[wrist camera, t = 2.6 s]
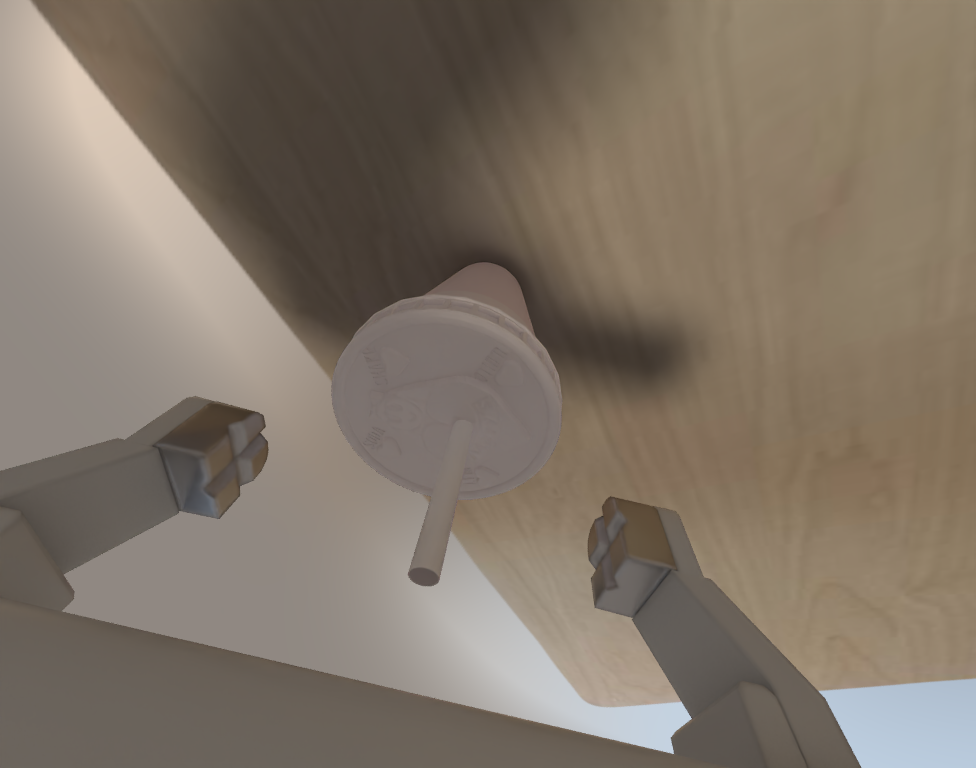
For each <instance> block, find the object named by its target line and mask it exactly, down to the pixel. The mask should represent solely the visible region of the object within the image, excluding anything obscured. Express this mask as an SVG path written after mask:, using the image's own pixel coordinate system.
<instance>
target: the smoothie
mask: <svg viewBox="0 0 976 768" xmlns="http://www.w3.org/2000/svg"><path fill="white" fill-rule="evenodd" d="M332 404H333V409H334V413H335V416H336V419H337V422H338V424H339V427H340V429H341V431H342V433H343V435H344V436H345V438H346V440H347V441H348V443H349V444H350V445H351V447H352V448H353V449H354V451H355V452H356V453H357V454H358V455H359V456H360V457H361V458H362V459H363V460H364V462H366V463H367V464H368V465H369V466H370V467H371V468H373V469H374V470H375V471H376V472H378V473H379V474H380V475H382V476H384V477H385V478H387V479H389V480H390V481H392V482H394V483H396V484H397V485H399V486H402V487H404V488H406V489H409V490H411V491H413V492H417V493H420V494H424V495H427V496H431V500H430V503H429V506H428V510H427V513H426V516H425V520H424V523H423V526H422V529H421V533H420V536H419V539H418V543H417V546H416V549H415V552H414V556H413V560H412V562H411V566H410V569H409V572H408V576H409V578H410V580H412V581H413V582H414V583H416V584H418V585H421V586H434V585H436V584H437V583H438V582H439V579H440V575H441V570H442V566H443V561H444V557H445V553H446V548H447V543H448V539H449V535H450V531H451V526H452V522H453V517H454V513H455V508H456V504H457V500H473V499H480V498H486V497H491V496H495V495H499V494H502V493H504V492H507V491H509V490H512V489H514V488H516V487H518V486H520V485H521V484H523V483H525V482H526V481H527V480H529V479H530V478H532V477H533V476H534V475H535V474H536V473H537V472H538V471H539V470H540V469H541V468H542V467H543V466H544V465H545V464H546V462H547V461H548V460H549V458H550V456H551V455H552V453H553V451H554V449H555V447H556V444H557V442H558V438H559V435H560V430H561V421H562V413H561V406H562V394H561V387H560V380H559V375H558V372H557V370H556V368H555V366H554V364H553V362H552V360H551V358H550V356H549V354H548V352H547V349H546V348H545V347H544V346H543V345H542V344H541V343H540V341H539V340H538V339H537V338H536V337H535V334H534V330H533V327H532V324H531V320H530V317H529V314H528V310H527V307H526V304H525V300H524V297H523V294H522V290H521V287H520V285H519V283H518V281H517V280H516V278H515V277H514V276H513V275H512V274H511V273H510V272H509V271H508V270H506V269H505V268H503V267H501V266H499V265H496V264H493V263H487V262H480V263H474V264H471V265H468V266H466V267H465V268H463V269H461V270H460V271H459V272H457V273H456V274H454V275H453V276H451V277H450V278H448V279H447V280H445V281H444V282H442V283H441V284H440V285H438V286H437V287H435V288H434V289H432V290H431V291H429V292H428V293H426V294H425V295H423V296H419V297H414V298H408V299H403V300H400V301H398V302H396V303H394V304H392V305H390V306H388V307H386V308H384V309H382V310H380V311H378V312H376V313H375V314H374V315H373V316H372V317H371V318H370V319H369V320H368V321H367V322H366V323H365V324H364V325H363V326H362V327H361V328H360V329H359V330H358V331H357V332H356V333H355V335H354V337H353V339H352V340H351V341H350V342H349V344H348V345H347V346H346V348H345V349H344V350H343V352H342V354H341V356H340V357H339V359H338V362H337V364H336V367H335V370H334V374H333V379H332Z"/></svg>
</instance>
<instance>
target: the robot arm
mask: <svg viewBox="0 0 976 768" xmlns="http://www.w3.org/2000/svg"><path fill="white" fill-rule="evenodd" d="M264 428H265V420H264V416H263V415H262V414H260V413H258V412H255V411H251V410H247V409H243V408H240V407H236V406H232V405H228V404H225V403H221V402H215V401H211V400H207V399H204V398H200V397H196V396H194V397H189V398H186V399H185V400H183V401H181V402H180V403H178V404H177V405H176V406H174V407H173V408H171V409H170V410H168V411H167V412H165V413H164V414H162V415H161V416H159V417H158V418H156V419H155V420H153V421H152V422H150V423H149V424H147V425H146V426H145V427H143V428H142V429H140V430H139V431H137V432H136V433H134V434H133V435H131V436H130V437H128V438H127V439H125V440H123V439H118V438H117V439H113V440H109V441H106V442H103V443H99V444H95V445H91V446H88V447H84V448H81V449H77V450H74V451H70V452H66V453H63V454H59V455H56V456H52V457H49V458H45V459H42V460H38V461H34V462H31V463H28V464H24V465H20V466H16V467H13V468H9V469H6V470H3V471H0V768H861V766H860V764H859V762H858V760H857V759H856V757H855V755H854V753H853V751H852V749H851V747H850V745H849V743H848V742H847V739H846V738H845V736H844V734H843V732H842V730H841V728H840V726H839V724H838V722H837V721H836V718H835V717H834V715H833V713H832V711H831V709H830V708H829V705H828V703H827V701H826V699H825V698H824V697H823V696H822V695H821V694H820V693H819V692H818V691H817V690H816V689H815V687H814V686H813V685H812V684H811V683H810V682H809V681H808V680H807V679H806V678H805V677H804V676H803V675H802V674H801V673H800V672H799V671H798V670H797V669H796V668H795V667H794V666H793V664H792V663H791V662H790V661H789V660H788V659H787V658H786V657H785V656H784V655H783V654H782V653H781V652H780V651H779V650H778V649H777V648H776V647H775V646H774V645H773V644H772V643H771V642H770V640H769V639H768V638H767V637H766V636H765V635H764V634H763V633H762V632H761V631H760V630H759V629H758V628H757V627H756V626H755V625H754V624H753V623H752V622H751V621H750V620H749V619H748V618H747V616H746V615H745V614H744V613H743V612H742V611H741V610H740V609H739V608H738V607H737V606H736V605H735V604H734V603H733V602H732V601H731V600H730V599H729V598H728V597H727V596H726V595H725V593H724V592H723V591H722V590H721V589H720V588H719V587H718V586H717V585H716V584H715V583H714V582H713V581H712V580H711V579H708V578H704V576H703V574H702V571H701V569H700V566H699V564H698V561H697V559H696V556H695V554H694V551H693V549H692V546H691V544H690V541H689V539H688V536H687V534H686V531H685V529H684V526H683V524H682V521H681V519H680V516H679V515H678V514H677V512H676V511H673V510H669V509H664V508H660V507H656V506H650V505H646V504H642V503H637V502H633V501H629V500H624V499H620V498H616V497H611V496H610V497H609V498H608V499H606V501H605V502H604V504H603V506H602V511H603V516H601V517H599V518H597V519H595V521H594V523H593V525H592V527H591V529H590V533H589V538H588V558H589V561H590V562H591V564H592V565H593V567H594V568H595V569H596V571H595V573H594V574H593V576H592V578H591V582H592V590H593V598H594V605H595V608H598V609H601V610H605V611H609V612H613V613H616V614H620V615H624V616H628V617H631V618H633V619H632V620H633V622H634V624H635V625H636V627H637V629H638V630H639V632H640V634H641V635H642V637H643V639H644V640H645V642H646V644H647V645H648V647H649V648H650V650H651V652H652V653H653V655H654V657H655V658H656V660H657V662H658V663H659V665H660V667H661V668H662V670H663V672H664V673H665V675H666V677H667V678H668V680H669V682H670V683H671V685H672V686H673V688H674V690H675V691H676V693H677V695H678V696H679V698H680V700H681V701H682V703H683V704H684V706H685V708H686V709H687V711H688V713H689V715H690V716H691V718H692V719H691V720H690V721H689V722H687V723H686V724H685V725H684V726H682V727H681V728H680V729H678V730H677V731H676V732H675V733H674V735H673V736H672V737H671V741H672V745H673V750H674V754H671V753H666V752H662V751H658V750H653V749H649V748H645V747H641V746H637V745H632V744H628V743H624V742H619V741H615V740H610V739H607V738H602V737H598V736H594V735H589V734H585V733H581V732H576V731H572V730H568V729H564V728H559V727H555V726H550V725H547V724H542V723H538V722H533V721H529V720H525V719H521V718H517V717H512V716H508V715H504V714H499V713H495V712H491V711H486V710H482V709H478V708H474V707H469V706H465V705H461V704H457V703H452V702H448V701H443V700H439V699H435V698H430V697H427V696H422V695H418V694H413V693H409V692H405V691H401V690H397V689H392V688H388V687H384V686H379V685H375V684H371V683H367V682H362V681H358V680H353V679H349V678H345V677H341V676H337V675H332V674H328V673H324V672H319V671H315V670H311V669H307V668H302V667H297V666H293V665H289V664H285V663H281V662H276V661H272V660H268V659H264V658H259V657H255V656H251V655H246V654H242V653H238V652H234V651H229V650H225V649H221V648H216V647H212V646H208V645H204V644H199V643H194V642H191V641H186V640H182V639H178V638H173V637H169V636H165V635H161V634H156V633H152V632H148V631H143V630H139V629H134V628H131V627H126V626H122V625H117V624H113V623H109V622H105V621H100V620H96V619H92V618H87V617H83V616H79V615H75V614H70V613H66V612H62V610H63V609H64V608H65V607H66V606H67V605H68V604H69V603H70V602H71V601H72V600H73V599H74V590H73V589H72V587H71V586H70V584H69V583H68V582H67V580H66V578H65V577H64V575H63V574H65V573H67V572H69V571H71V570H73V569H74V568H76V567H78V566H80V565H82V564H84V563H86V562H88V561H90V560H91V559H93V558H95V557H97V556H99V555H101V554H103V553H105V552H107V551H108V550H110V549H112V548H114V547H116V546H118V545H120V544H122V543H124V542H125V541H127V540H129V539H131V538H133V537H135V536H137V535H139V534H141V533H142V532H144V531H146V530H148V529H150V528H152V527H154V526H156V525H158V524H159V523H161V522H163V521H165V520H167V519H169V518H171V517H173V516H175V515H177V514H178V513H179V511H183V512H187V513H192V514H198V515H202V516H207V517H212V518H217V519H220V518H221V516H222V515H223V514H224V513H225V512H226V511H227V510H228V509H229V507H230V506H231V505H232V504H233V503H234V502H235V501H236V500H237V498H238V497H239V496H240V486H242V485H244V484H246V483H249V482H251V481H253V480H254V479H255V478H256V477H257V475H258V474H259V473H260V472H261V470H262V468H263V466H264V464H265V462H266V460H267V456H268V442H267V440H266V439H265V438H264V437H263V436H262V434H261V433H260V432H261V431H262V430H263V429H264Z"/></svg>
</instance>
